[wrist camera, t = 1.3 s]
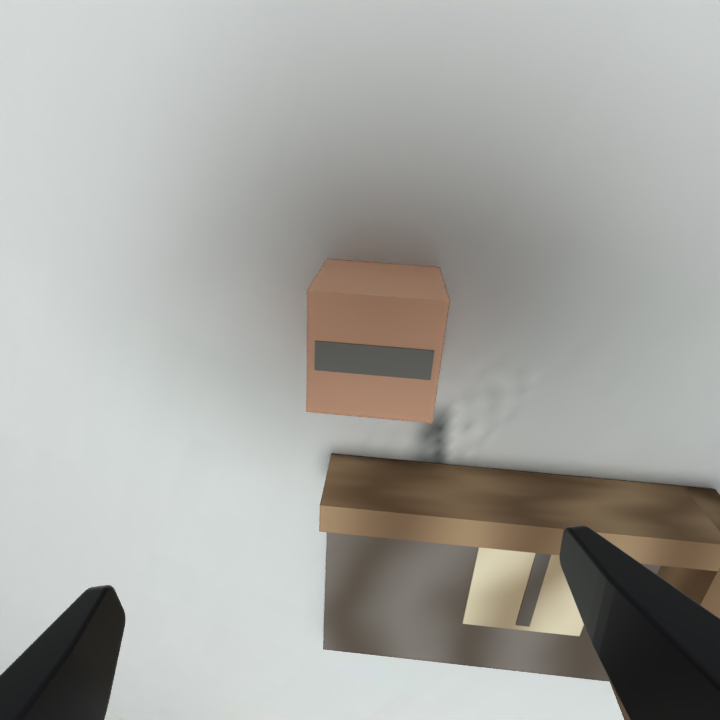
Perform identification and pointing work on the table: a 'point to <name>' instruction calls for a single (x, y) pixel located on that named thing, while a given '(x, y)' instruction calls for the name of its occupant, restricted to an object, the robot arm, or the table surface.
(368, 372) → the terracotta block
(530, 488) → the arena
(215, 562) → the table surface
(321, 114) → the table surface
